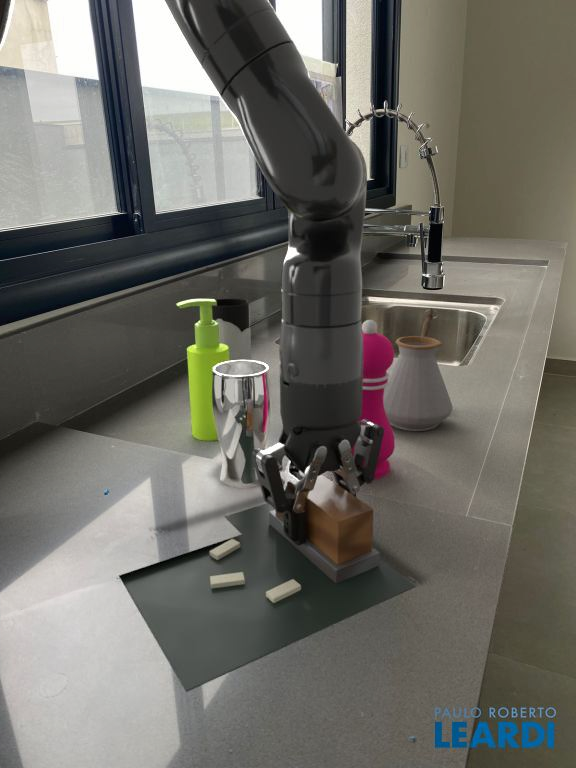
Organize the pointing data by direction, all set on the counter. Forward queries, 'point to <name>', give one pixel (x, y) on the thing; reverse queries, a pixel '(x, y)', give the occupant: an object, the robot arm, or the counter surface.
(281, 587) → the off-white small bar
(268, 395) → the beer glass
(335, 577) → the eraser
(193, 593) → the chalkboard
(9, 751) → the counter surface
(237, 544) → the cream rectangular block
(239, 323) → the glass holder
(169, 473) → the counter surface
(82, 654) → the counter surface
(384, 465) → the pepper mill
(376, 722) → the counter surface
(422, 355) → the coffee pot
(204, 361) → the soap dispenser
